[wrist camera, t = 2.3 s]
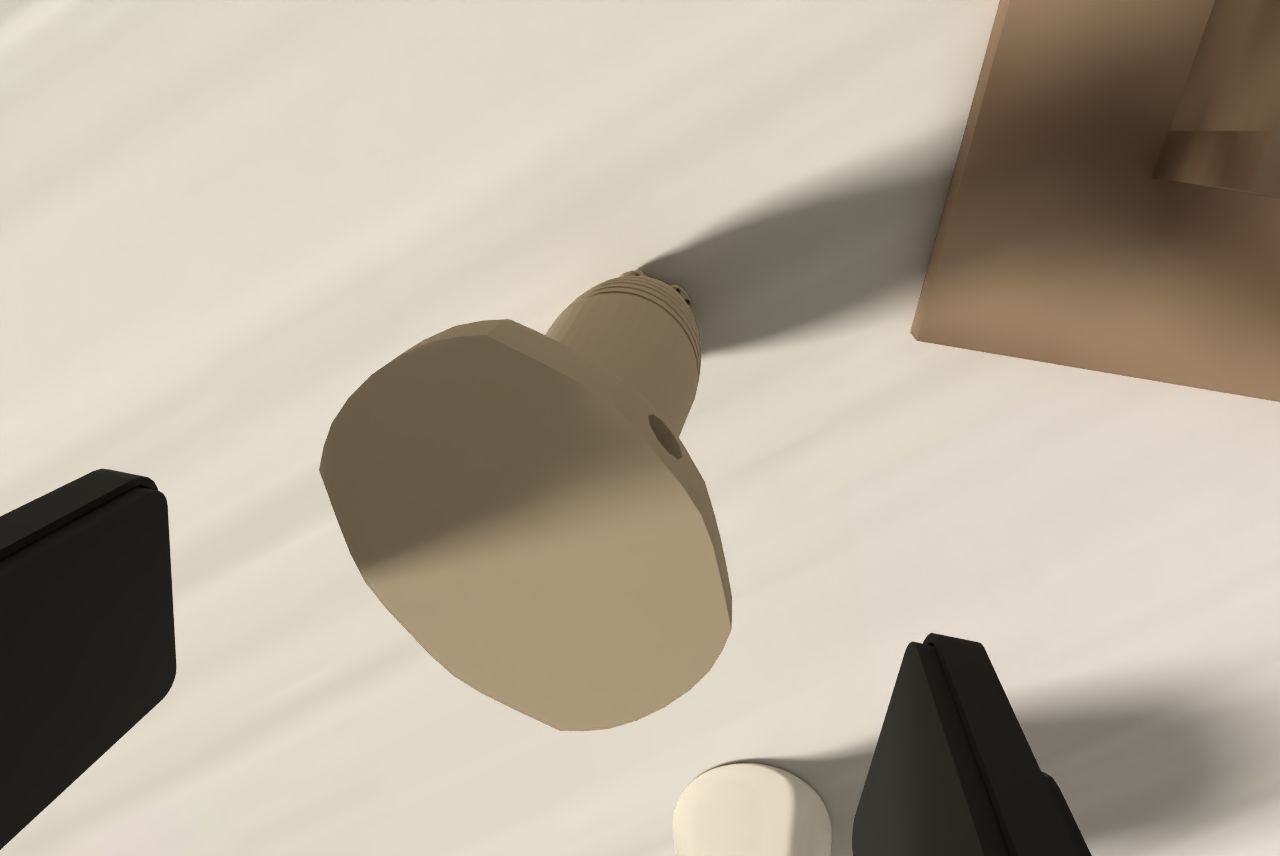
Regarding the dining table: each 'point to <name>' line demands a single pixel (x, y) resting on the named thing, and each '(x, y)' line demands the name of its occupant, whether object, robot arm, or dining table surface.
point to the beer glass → (750, 814)
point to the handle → (543, 506)
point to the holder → (1120, 194)
